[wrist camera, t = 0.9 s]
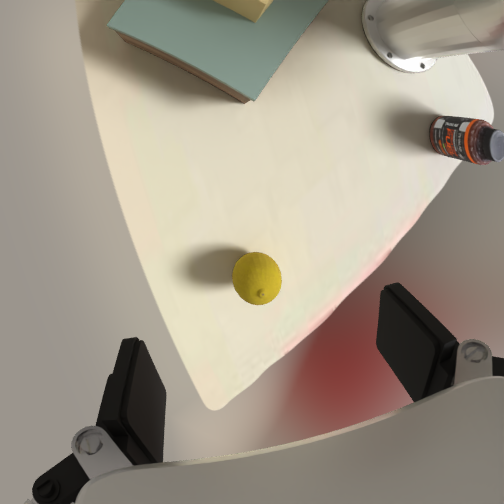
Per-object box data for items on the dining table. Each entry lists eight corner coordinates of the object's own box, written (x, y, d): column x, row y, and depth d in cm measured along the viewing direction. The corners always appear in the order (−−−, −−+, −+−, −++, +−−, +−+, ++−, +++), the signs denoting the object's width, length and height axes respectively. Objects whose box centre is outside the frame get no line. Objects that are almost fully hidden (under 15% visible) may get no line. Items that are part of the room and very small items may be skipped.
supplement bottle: (422, 125, 36) (480, 132, 26) (447, 109, 36) (504, 113, 26) (436, 162, 39) (492, 178, 28) (460, 145, 38) (515, 157, 28)
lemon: (279, 250, 40) (297, 278, 33) (263, 287, 42) (276, 321, 34) (238, 237, 39) (247, 264, 31) (223, 277, 40) (229, 310, 33)
